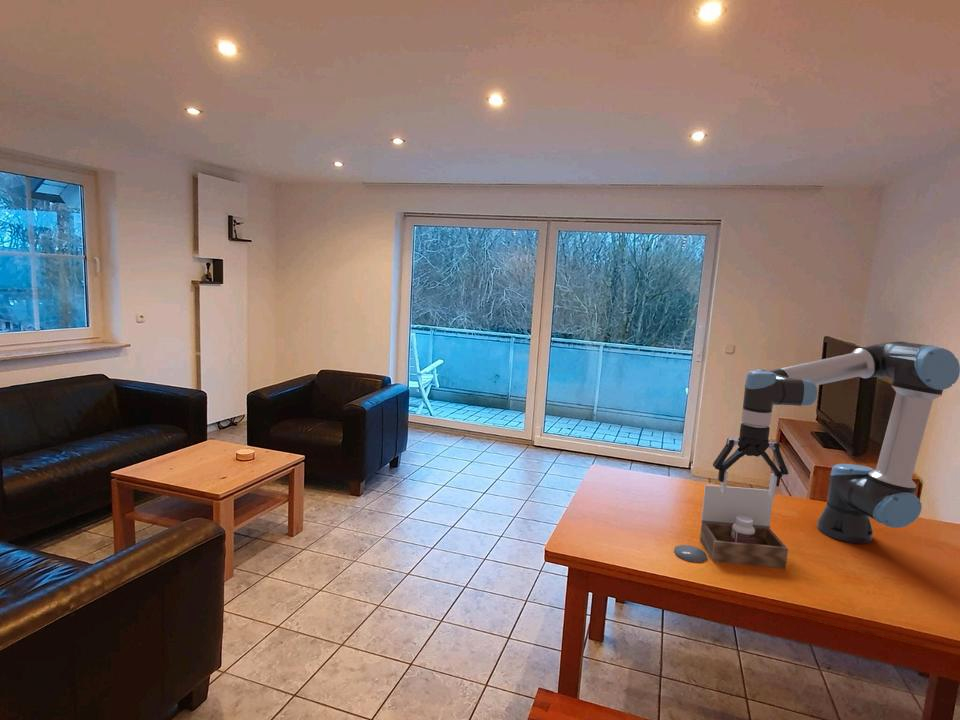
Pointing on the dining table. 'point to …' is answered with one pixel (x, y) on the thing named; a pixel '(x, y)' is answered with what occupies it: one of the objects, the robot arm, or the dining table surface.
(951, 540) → the dining table surface
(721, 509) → the frame lid
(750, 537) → the pill bottle
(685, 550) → the grey round disc
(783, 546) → the box
